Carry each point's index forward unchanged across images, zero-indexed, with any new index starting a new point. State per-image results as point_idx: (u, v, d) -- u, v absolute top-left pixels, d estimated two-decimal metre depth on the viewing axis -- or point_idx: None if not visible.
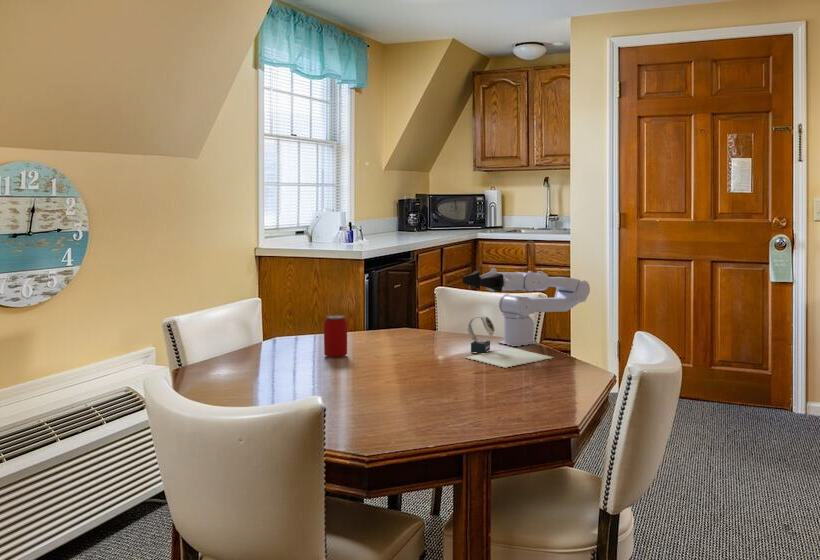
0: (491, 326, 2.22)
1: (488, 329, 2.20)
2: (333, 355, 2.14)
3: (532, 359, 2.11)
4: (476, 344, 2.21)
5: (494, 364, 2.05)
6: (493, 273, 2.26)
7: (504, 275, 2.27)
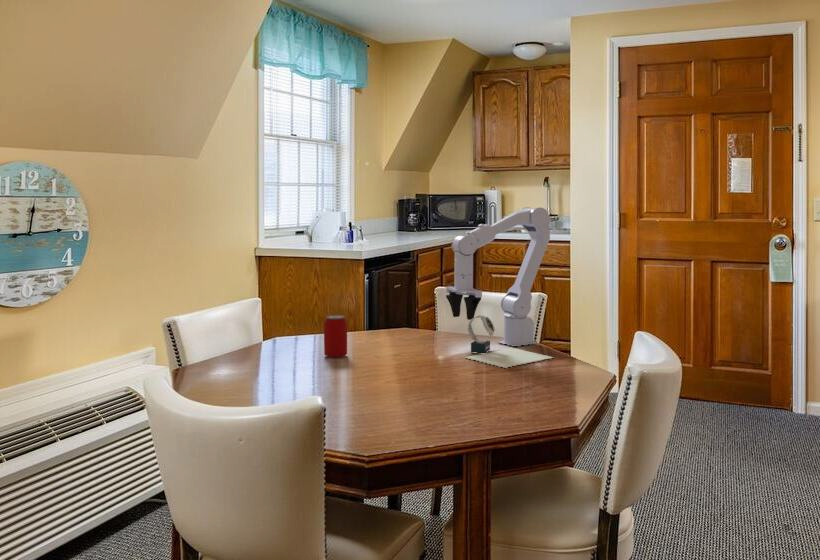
0: (491, 326, 2.22)
1: (488, 329, 2.20)
2: (333, 355, 2.14)
3: (532, 359, 2.11)
4: (476, 344, 2.21)
5: (494, 364, 2.05)
6: (458, 292, 2.26)
7: (463, 281, 2.25)
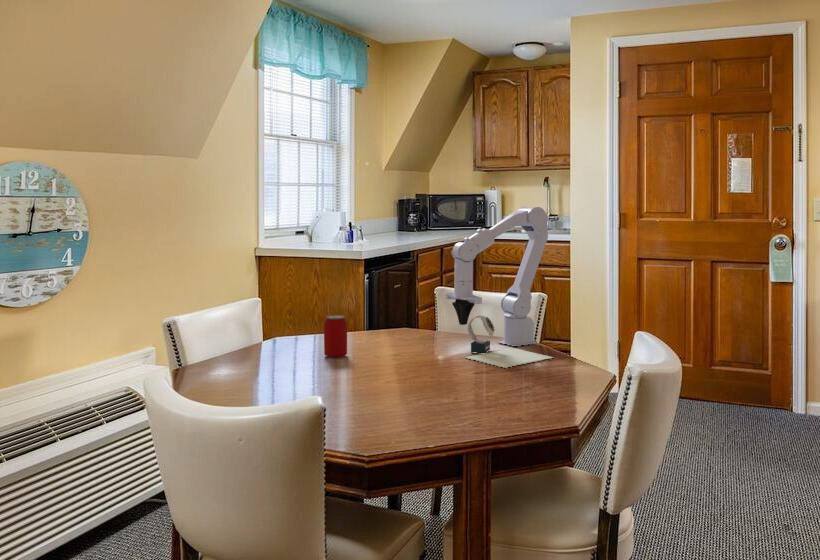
0: (491, 326, 2.22)
1: (488, 329, 2.20)
2: (333, 355, 2.14)
3: (532, 359, 2.11)
4: (476, 344, 2.21)
5: (494, 364, 2.05)
6: (458, 298, 2.26)
7: (463, 288, 2.25)
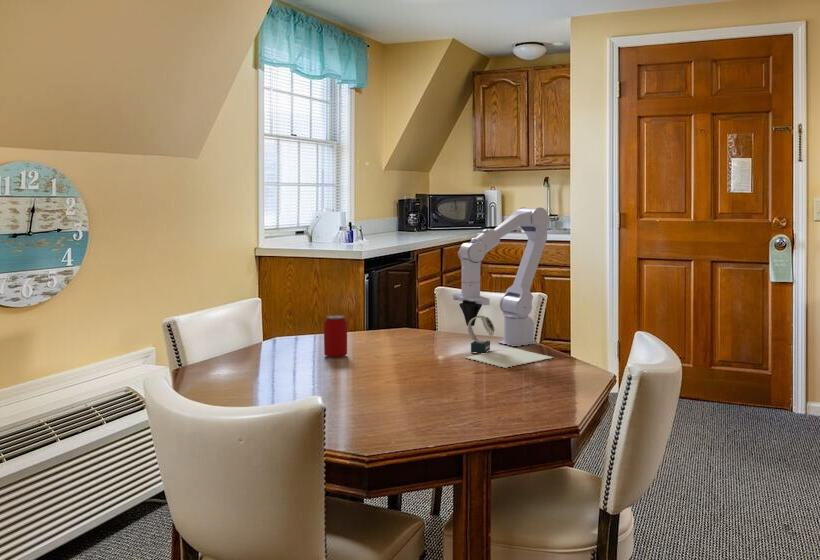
0: (491, 326, 2.22)
1: (488, 329, 2.20)
2: (333, 355, 2.14)
3: (532, 359, 2.11)
4: (476, 344, 2.21)
5: (494, 364, 2.05)
6: (465, 299, 2.24)
7: (470, 289, 2.23)
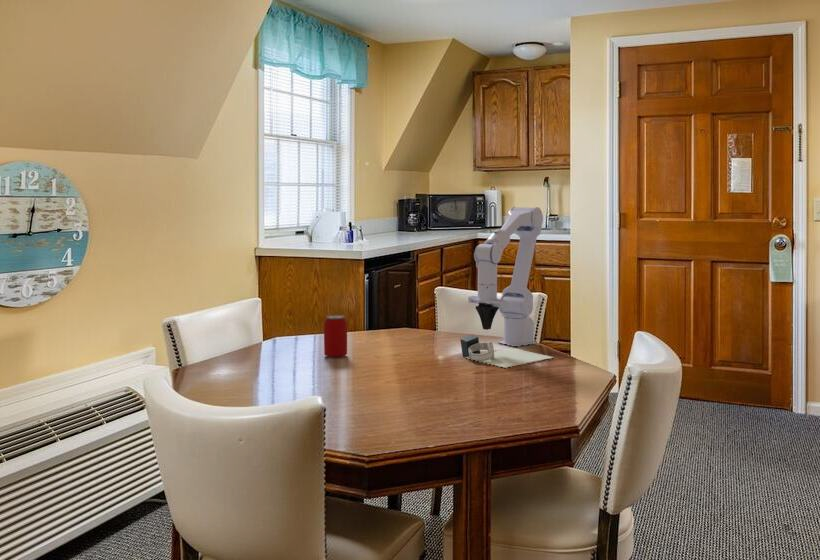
0: None
1: None
2: (333, 355, 2.14)
3: (532, 359, 2.11)
4: None
5: (494, 364, 2.05)
6: (482, 302, 2.18)
7: (487, 291, 2.17)
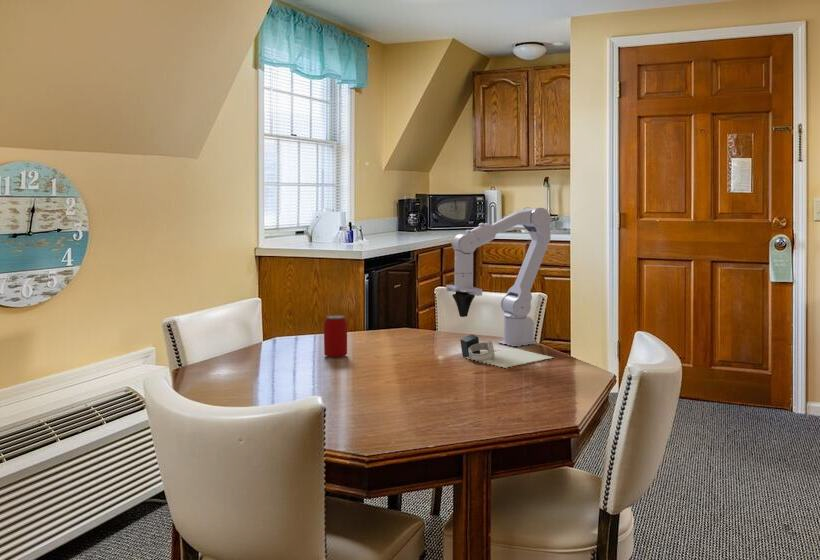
0: None
1: None
2: (333, 355, 2.14)
3: (532, 359, 2.11)
4: None
5: (494, 364, 2.05)
6: None
7: (463, 279, 2.25)
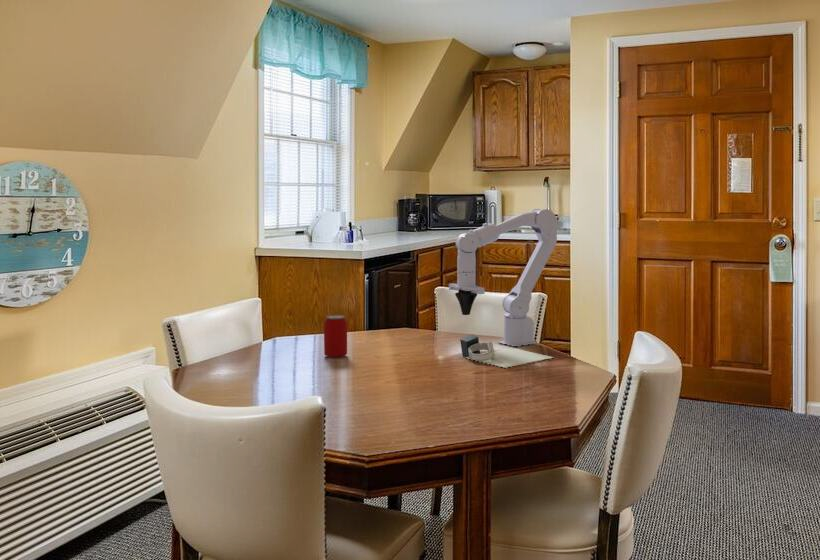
0: None
1: None
2: (333, 355, 2.14)
3: (532, 359, 2.11)
4: None
5: (494, 364, 2.05)
6: (461, 289, 2.30)
7: (466, 278, 2.28)
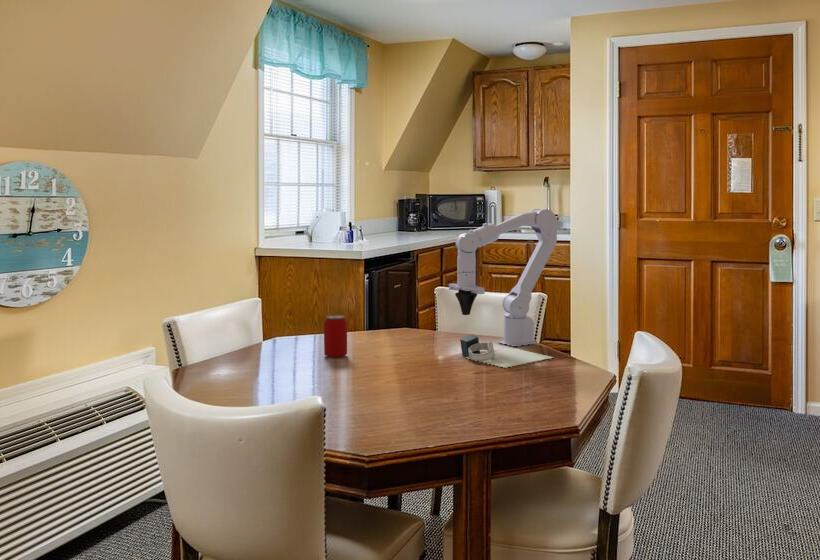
0: None
1: None
2: (333, 355, 2.14)
3: (532, 359, 2.11)
4: None
5: (494, 364, 2.05)
6: (461, 289, 2.30)
7: (466, 278, 2.28)
